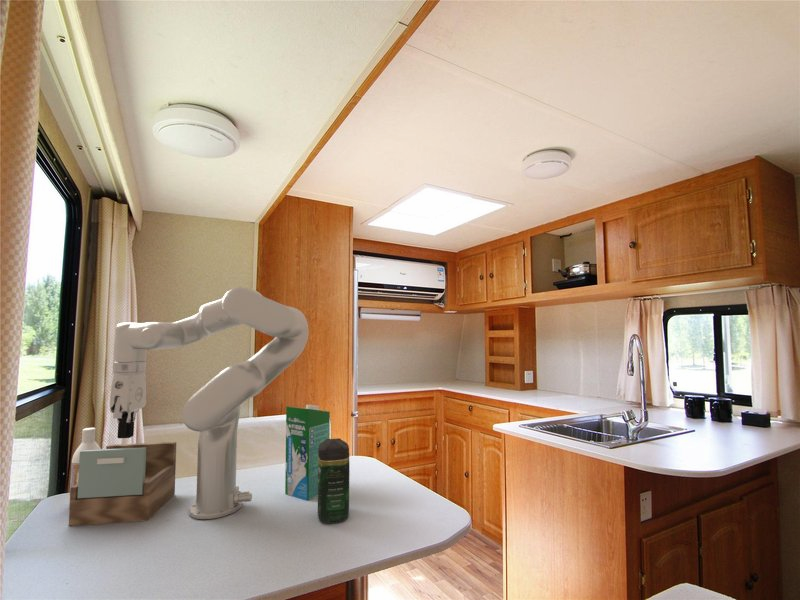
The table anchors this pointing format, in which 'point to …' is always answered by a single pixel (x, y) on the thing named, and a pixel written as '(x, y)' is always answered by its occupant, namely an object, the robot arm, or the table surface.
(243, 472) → the table surface
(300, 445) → the milk carton
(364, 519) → the table surface
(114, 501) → the tray
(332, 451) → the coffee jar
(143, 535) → the table surface
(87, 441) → the bath foam
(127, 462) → the panel
